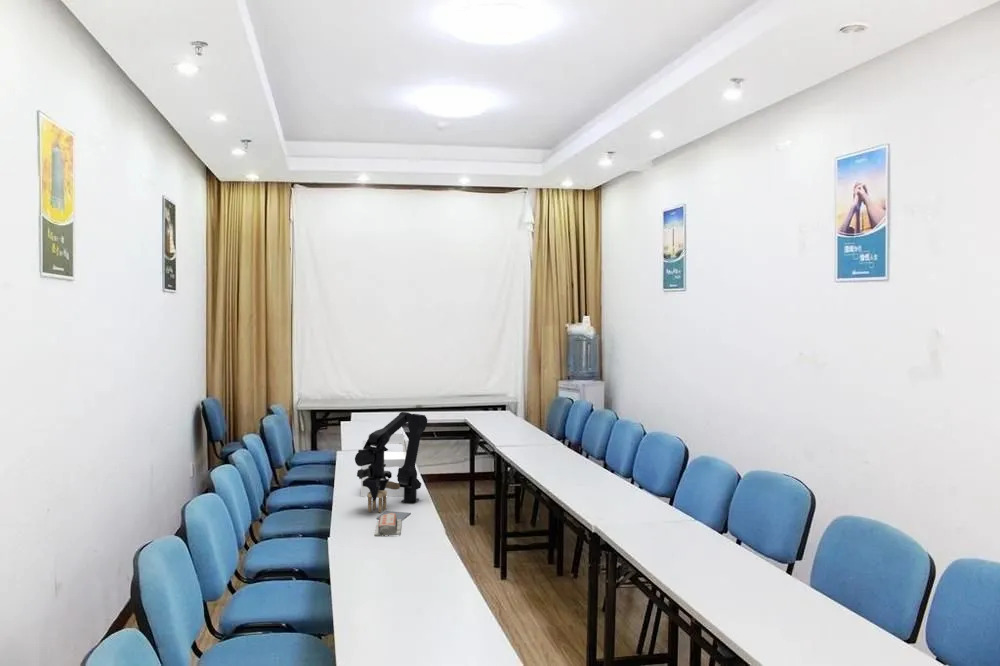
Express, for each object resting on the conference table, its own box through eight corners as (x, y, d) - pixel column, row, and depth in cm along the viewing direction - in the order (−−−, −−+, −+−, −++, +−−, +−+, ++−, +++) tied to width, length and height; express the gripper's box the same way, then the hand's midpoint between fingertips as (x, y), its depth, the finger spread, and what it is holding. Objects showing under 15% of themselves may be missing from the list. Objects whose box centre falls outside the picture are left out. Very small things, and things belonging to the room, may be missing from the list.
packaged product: (400, 524, 282) (374, 525, 280) (400, 537, 282) (374, 537, 281) (401, 511, 299) (377, 511, 298) (401, 523, 300) (377, 523, 299)
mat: (386, 512, 314) (386, 510, 314) (410, 513, 311) (410, 512, 311) (376, 519, 303) (376, 518, 303) (401, 521, 301) (401, 520, 301)
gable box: (410, 489, 353) (410, 431, 352) (408, 496, 340) (409, 436, 339) (363, 489, 351) (363, 431, 350) (360, 497, 338) (360, 436, 337)
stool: (373, 507, 319) (373, 489, 319) (386, 509, 318) (387, 490, 318) (367, 511, 313) (367, 493, 313) (381, 513, 312) (381, 494, 312)
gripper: (368, 457, 326) (368, 491, 326) (350, 465, 307) (350, 502, 308) (392, 458, 323) (391, 493, 324) (375, 467, 305) (375, 504, 306)
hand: (377, 498), depth 315 cm, fingers closed on stool, 6 cm apart
